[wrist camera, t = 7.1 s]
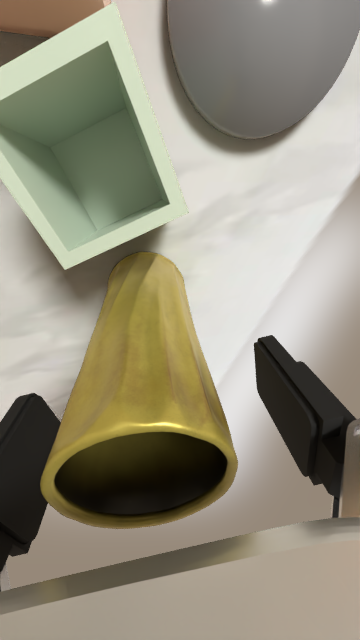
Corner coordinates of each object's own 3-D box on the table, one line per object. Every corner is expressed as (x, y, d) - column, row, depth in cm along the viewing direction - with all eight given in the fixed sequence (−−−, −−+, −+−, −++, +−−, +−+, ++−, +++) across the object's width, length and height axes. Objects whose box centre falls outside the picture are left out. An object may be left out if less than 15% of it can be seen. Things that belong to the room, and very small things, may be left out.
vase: (199, 278, 18) (299, 453, 6) (158, 332, 21) (173, 543, 8) (133, 234, 16) (83, 370, 4) (95, 300, 18) (-15, 523, 6)
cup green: (38, 142, 13) (-56, 99, 7) (131, 92, 13) (115, 1, 7) (96, 240, 16) (64, 270, 10) (173, 204, 16) (188, 212, 9)
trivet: (140, -137, 9) (140, -171, 8) (377, -197, 9) (401, -237, 8) (187, 156, 14) (190, 154, 13) (340, 118, 14) (352, 113, 13)
